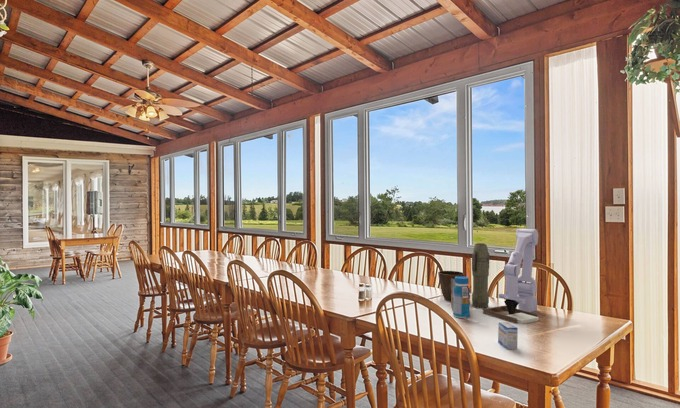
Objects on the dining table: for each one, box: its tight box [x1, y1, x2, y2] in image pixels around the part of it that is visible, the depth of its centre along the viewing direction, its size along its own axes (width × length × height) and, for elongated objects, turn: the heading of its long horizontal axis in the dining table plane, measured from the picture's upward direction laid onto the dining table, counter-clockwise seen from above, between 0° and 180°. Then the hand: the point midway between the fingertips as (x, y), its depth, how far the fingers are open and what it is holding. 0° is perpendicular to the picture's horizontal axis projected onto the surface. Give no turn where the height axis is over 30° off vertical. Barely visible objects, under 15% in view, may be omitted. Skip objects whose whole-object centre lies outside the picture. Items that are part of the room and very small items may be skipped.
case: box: [482, 304, 539, 324], centre depth 211 cm, size 16×20×3 cm
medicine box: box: [497, 321, 519, 350], centre depth 170 cm, size 8×4×9 cm, turn 5°
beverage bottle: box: [452, 275, 471, 319], centre depth 213 cm, size 8×8×20 cm
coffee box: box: [450, 279, 456, 312], centre depth 226 cm, size 9×6×16 cm
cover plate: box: [507, 313, 539, 325], centre depth 205 cm, size 12×10×2 cm
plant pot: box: [438, 270, 465, 302], centre depth 249 cm, size 15×15×16 cm
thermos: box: [471, 242, 490, 310], centre depth 233 cm, size 9×12×35 cm
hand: (511, 314), depth 210 cm, fingers closed
